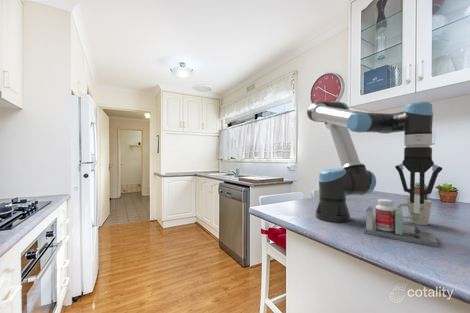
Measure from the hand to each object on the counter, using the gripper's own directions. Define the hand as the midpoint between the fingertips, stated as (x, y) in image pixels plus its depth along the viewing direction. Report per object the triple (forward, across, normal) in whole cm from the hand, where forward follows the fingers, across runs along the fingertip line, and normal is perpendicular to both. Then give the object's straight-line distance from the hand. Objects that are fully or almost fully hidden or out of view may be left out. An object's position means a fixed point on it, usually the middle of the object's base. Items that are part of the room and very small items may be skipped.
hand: (416, 212), depth 76 cm
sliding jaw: (+7, -2, -2) cm, 8 cm away
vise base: (+9, -5, -2) cm, 11 cm away
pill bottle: (+8, -9, -2) cm, 12 cm away
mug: (+10, 0, +21) cm, 23 cm away
